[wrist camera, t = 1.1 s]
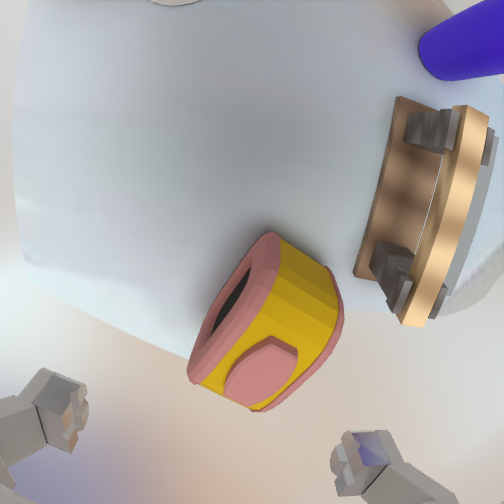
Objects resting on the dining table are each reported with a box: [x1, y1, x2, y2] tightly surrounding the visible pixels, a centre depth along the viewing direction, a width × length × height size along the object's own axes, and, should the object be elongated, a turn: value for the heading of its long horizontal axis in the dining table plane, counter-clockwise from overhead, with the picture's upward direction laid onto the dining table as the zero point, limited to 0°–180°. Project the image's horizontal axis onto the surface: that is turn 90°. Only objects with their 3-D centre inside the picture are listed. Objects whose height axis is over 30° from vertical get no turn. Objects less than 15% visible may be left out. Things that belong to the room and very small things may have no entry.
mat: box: [443, 136, 499, 296], centre depth 40 cm, size 27×8×1 cm, turn 170°
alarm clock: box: [187, 232, 344, 412], centre depth 38 cm, size 18×11×19 cm, turn 147°
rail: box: [396, 105, 489, 327], centre depth 28 cm, size 24×3×3 cm, turn 170°
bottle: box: [419, 0, 504, 81], centre depth 18 cm, size 8×8×30 cm
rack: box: [353, 96, 495, 319], centre depth 34 cm, size 26×8×14 cm, turn 170°
